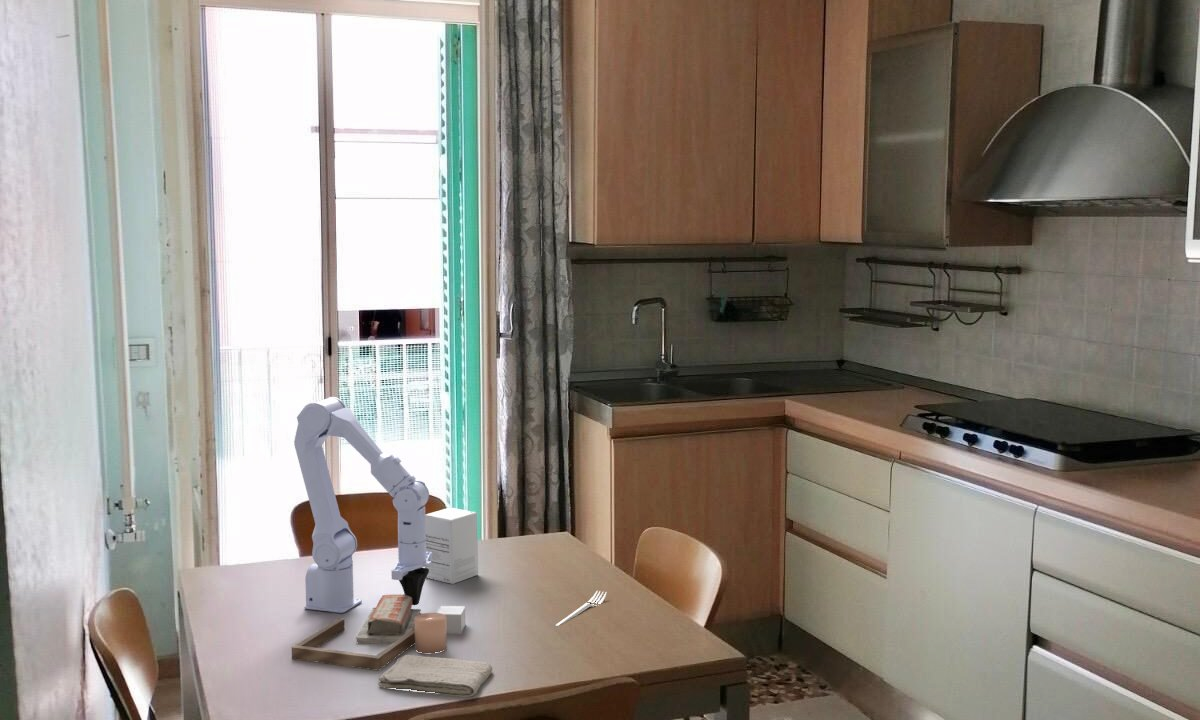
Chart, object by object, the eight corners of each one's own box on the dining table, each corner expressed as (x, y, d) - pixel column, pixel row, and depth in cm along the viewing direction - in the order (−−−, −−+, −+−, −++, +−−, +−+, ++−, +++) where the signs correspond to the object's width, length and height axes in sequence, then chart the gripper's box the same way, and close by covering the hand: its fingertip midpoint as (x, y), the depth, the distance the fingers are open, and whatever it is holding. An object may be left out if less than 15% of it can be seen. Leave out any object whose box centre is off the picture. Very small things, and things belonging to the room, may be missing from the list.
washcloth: (400, 666, 206) (400, 650, 206) (494, 674, 203) (494, 657, 202) (375, 692, 194) (375, 675, 194) (475, 700, 191) (475, 683, 191)
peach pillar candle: (409, 652, 212) (408, 621, 211) (423, 641, 218) (423, 611, 217) (438, 655, 210) (437, 624, 210) (452, 644, 216) (451, 614, 215)
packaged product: (372, 592, 234) (420, 592, 234) (373, 614, 234) (421, 614, 235) (355, 621, 216) (407, 621, 216) (355, 645, 216) (407, 645, 217)
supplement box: (450, 568, 266) (450, 506, 264) (479, 575, 261) (478, 511, 259) (423, 577, 258) (422, 513, 257) (452, 584, 253) (451, 519, 252)
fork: (549, 628, 227) (549, 619, 227) (595, 598, 245) (595, 589, 245) (563, 631, 226) (563, 622, 226) (608, 600, 243) (608, 592, 243)
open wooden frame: (291, 658, 208) (291, 647, 208) (339, 629, 224) (338, 618, 224) (378, 670, 203) (378, 658, 203) (420, 639, 219) (420, 628, 218)
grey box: (436, 633, 222) (435, 614, 222) (440, 625, 227) (440, 605, 227) (461, 634, 222) (461, 614, 222) (465, 625, 227) (465, 606, 227)
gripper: (413, 551, 225) (414, 616, 227) (444, 533, 239) (445, 595, 240) (381, 548, 227) (383, 613, 229) (414, 530, 241) (415, 592, 243)
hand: (413, 603), depth 235 cm, fingers closed
